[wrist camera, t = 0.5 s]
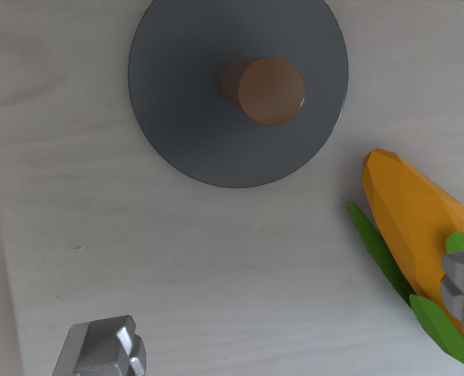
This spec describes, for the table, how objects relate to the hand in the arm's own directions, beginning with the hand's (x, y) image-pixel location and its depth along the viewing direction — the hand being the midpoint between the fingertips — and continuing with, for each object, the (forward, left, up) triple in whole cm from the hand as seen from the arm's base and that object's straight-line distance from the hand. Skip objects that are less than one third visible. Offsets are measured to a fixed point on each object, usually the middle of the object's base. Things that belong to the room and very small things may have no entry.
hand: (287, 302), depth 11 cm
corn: (+16, +3, -18) cm, 24 cm away
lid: (-2, +5, -17) cm, 18 cm away
